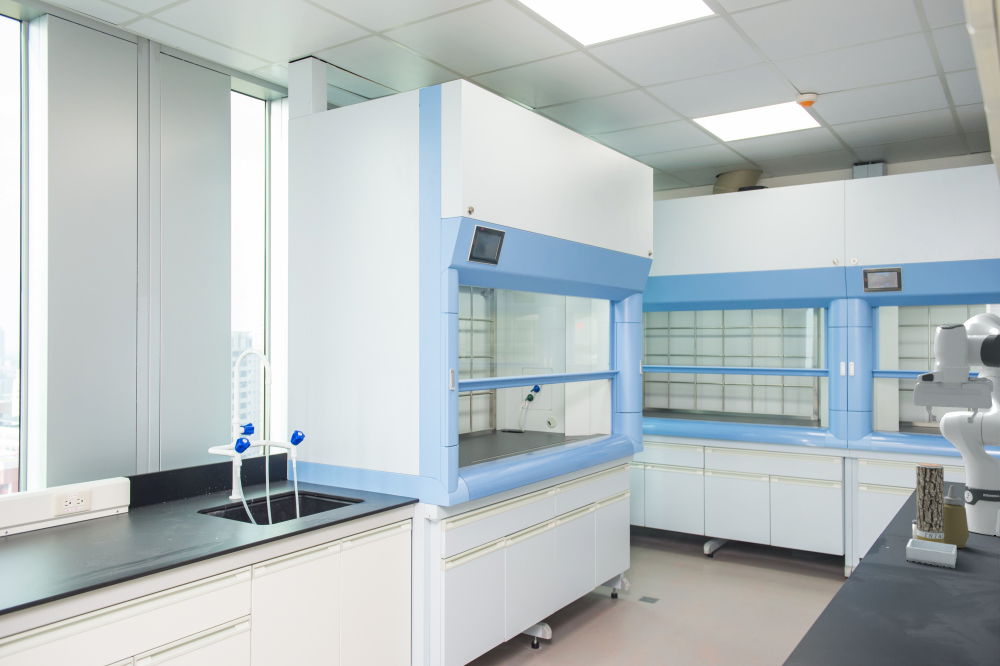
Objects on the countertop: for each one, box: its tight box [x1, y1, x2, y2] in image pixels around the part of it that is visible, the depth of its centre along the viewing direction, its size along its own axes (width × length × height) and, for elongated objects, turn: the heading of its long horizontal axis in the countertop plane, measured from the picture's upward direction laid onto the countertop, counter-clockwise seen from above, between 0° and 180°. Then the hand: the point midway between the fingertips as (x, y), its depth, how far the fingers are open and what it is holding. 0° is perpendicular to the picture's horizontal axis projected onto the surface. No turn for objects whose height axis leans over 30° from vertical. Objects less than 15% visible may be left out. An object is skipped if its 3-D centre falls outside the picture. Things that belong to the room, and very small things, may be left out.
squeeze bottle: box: [944, 485, 970, 549], centre depth 207 cm, size 8×8×18 cm
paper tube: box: [915, 462, 945, 543], centre depth 202 cm, size 7×7×25 cm
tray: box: [905, 538, 958, 569], centre depth 191 cm, size 11×11×4 cm
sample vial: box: [911, 519, 917, 540], centre depth 212 cm, size 3×3×6 cm
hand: (951, 422), depth 208 cm, fingers open, 8 cm apart
